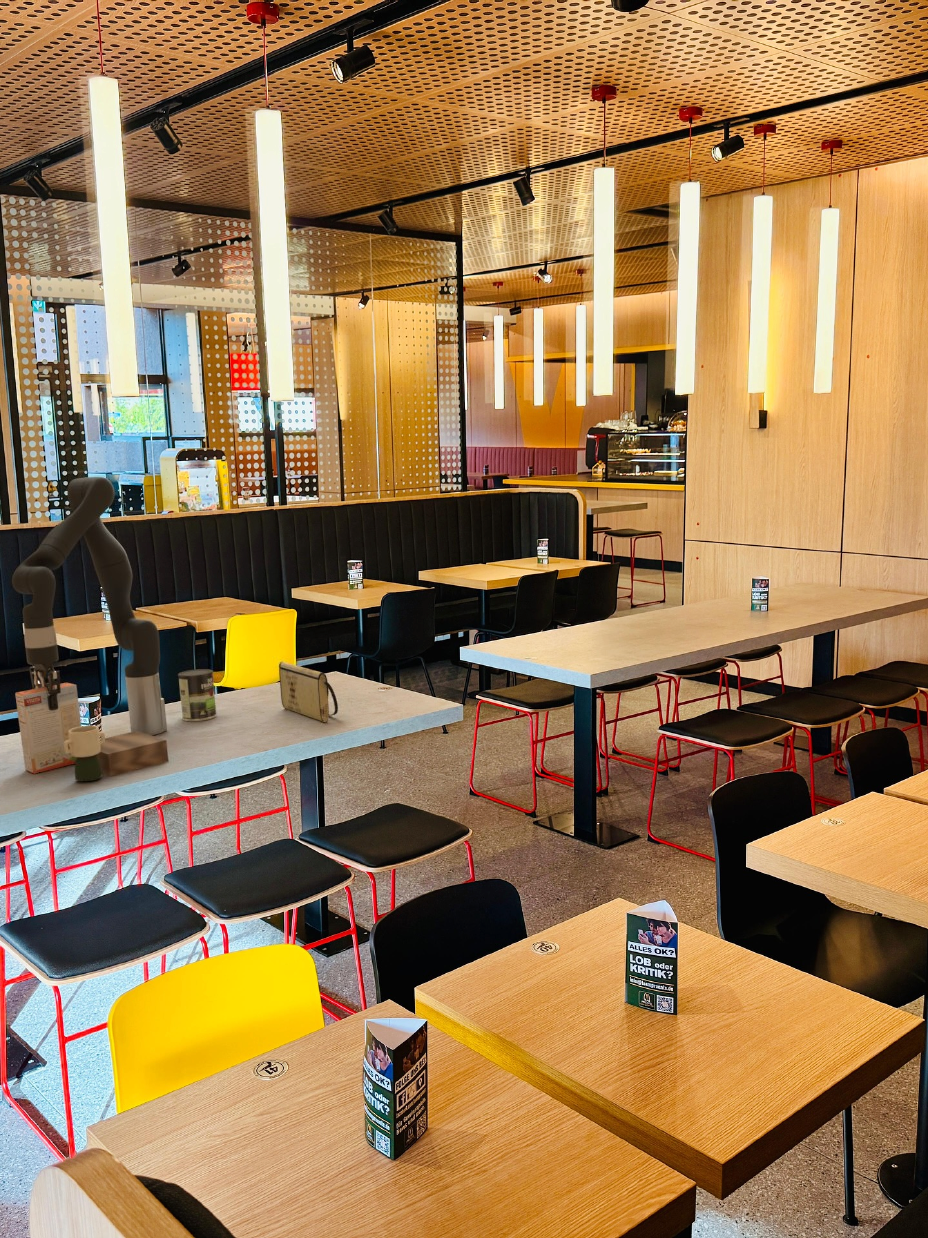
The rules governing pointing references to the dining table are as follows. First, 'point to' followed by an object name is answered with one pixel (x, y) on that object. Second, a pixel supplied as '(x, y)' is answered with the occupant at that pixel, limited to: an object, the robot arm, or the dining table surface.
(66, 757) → the cracker box
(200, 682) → the coffee can
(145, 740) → the walnut block
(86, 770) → the character mug
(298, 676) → the clutch purse
